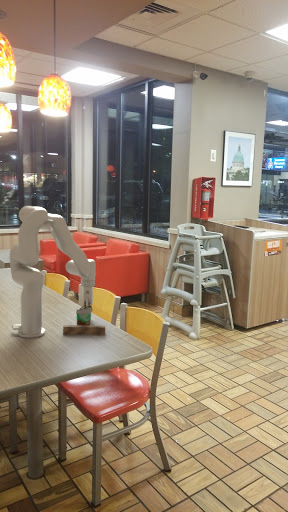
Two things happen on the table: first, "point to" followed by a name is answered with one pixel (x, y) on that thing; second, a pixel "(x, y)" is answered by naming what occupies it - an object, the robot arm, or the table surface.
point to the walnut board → (83, 330)
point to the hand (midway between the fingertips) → (87, 316)
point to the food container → (84, 315)
